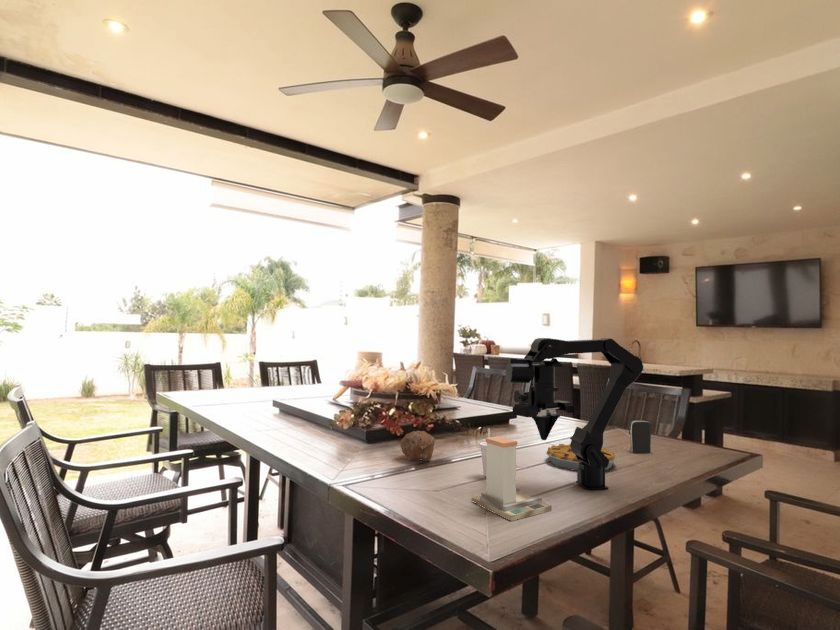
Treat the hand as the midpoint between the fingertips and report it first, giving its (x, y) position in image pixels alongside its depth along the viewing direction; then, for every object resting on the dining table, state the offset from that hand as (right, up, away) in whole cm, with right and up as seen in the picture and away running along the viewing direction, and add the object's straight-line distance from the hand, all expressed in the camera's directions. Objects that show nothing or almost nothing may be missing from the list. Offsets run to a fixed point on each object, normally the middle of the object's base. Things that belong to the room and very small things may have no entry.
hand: (543, 439), depth 130 cm
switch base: (-12, -12, -15) cm, 23 cm away
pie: (+19, -15, +25) cm, 35 cm away
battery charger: (+46, -16, +41) cm, 64 cm away
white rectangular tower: (-15, -11, -17) cm, 25 cm away
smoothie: (-13, -13, +9) cm, 21 cm away
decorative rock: (-35, -14, +27) cm, 46 cm away
